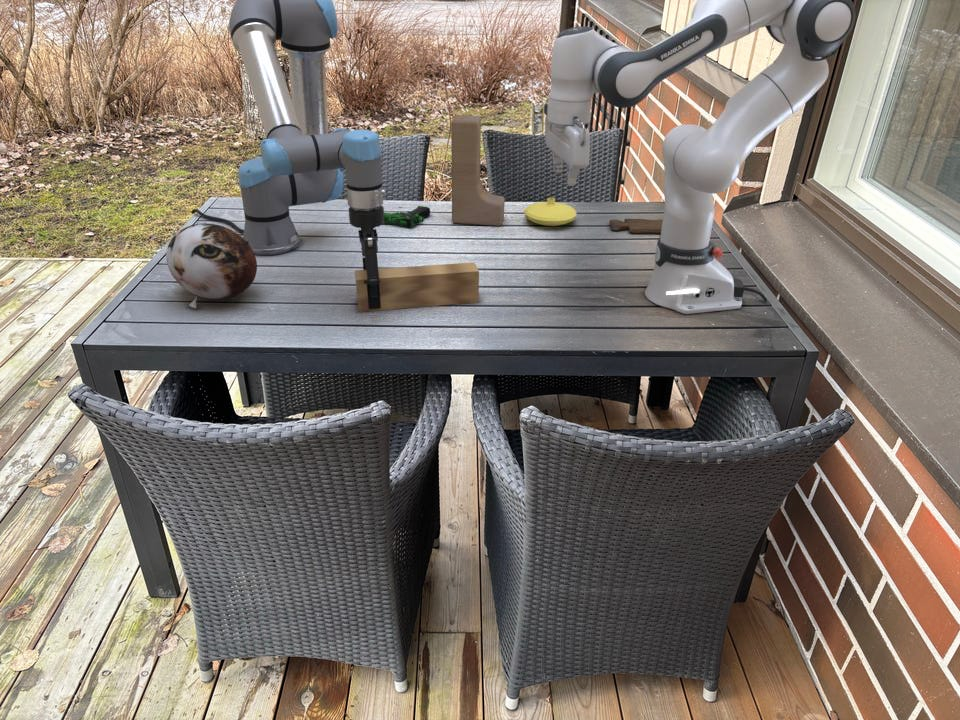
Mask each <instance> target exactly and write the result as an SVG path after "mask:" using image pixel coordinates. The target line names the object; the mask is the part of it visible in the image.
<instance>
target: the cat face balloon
mask: <svg viewBox="0 0 960 720" xmlns="http://www.w3.org/2000/svg"><path fill="white" fill-rule="evenodd" d="M248 242H249V241H246V240H245V239H244V238H243V236H242V235H240V234H239V233H238V232H236V231H234V230H233V229H231V228H229V227H226V226H223V225H220V224H215V223H205V222H204V223H195V224H191V225H188V226H186V227H183V228H182V229H180V230H179V231H177V232H176V233H175V234H174V235H173V237H171V239H170V241H169V243H168V245H167V248H166V254H165V260H166V265H167V268H168V271H169V273H170V275H171V276H172V277H173V279H174V280H175V281H176V282H177V284H178V285H180V286H181V287H182V288H183V289H185V290H186V291H187V292H189V293H191V294H194V295H195V298H194V299H193V300H192V302H190V303H189V304H188V306H189V307H191V308H192V309H197V308H198V307H197V298H198V297H201V298H205V299H210V300H226V299H230V298H233V297H236V296H238V295H241V294H242V293H244V292H245V291H247V290H248V289H249V288H250V286H251V285H252V284H253V282H254V280H255V278H256V275H257V271H258V262H257V257H256V254H254V252H253V250H252V248H251V247H250V245H249V244H248Z"/></svg>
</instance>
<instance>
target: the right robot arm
mask: <svg viewBox="0 0 960 720" xmlns="http://www.w3.org/2000/svg"><path fill="white" fill-rule="evenodd" d="M693 5H694V6H693V8H692V11H691V16H690V20H689V22H688V23H687V24H686V25H685V26H684V27H683V28H681V29H680V30H679V31H677V32H675V33H674V34H672V35H670V36H668V37H667V38H664V39H663V40H661V41H659V42H658V43H656V44H654V45H653V46H650V47H648V48H646V49H643V50H631V49H629V48H628V47H625V46H623V45H620V44H619V43H616V42H613V41H611V40H609V39H607V38H606V37H605V36H603V35H601V34H600V33H598V32H597V31H596V30H595V29H594V28H593V27H591V26H575V27H570V28H566V29H564V30H562V31H560V32H559V33H558V34H557V35H556V37H555V39H554V42H553V46H552V52H551V59H550V60H551V61H550V73H549V76H550V81H551V87H550V91H549V94H548V102H544V103H543V109H542V111H543V114H544V116H545V118H544V141H545V146H546V147H547V148H548V149H549V150H551V156H552V162H553V167H552V170H553V171H554V173H556V174H561V173H563V171H564V164H563V163H565V164H566V165H567V166H568V167H567V169H568V173H567V175H566V180H565V182H566V184H567V185H568V186H569V187H570V186H571V187H572V186H576V185H577V179H578V176H579V174H580V172H581V171H580V170H581V169H587V168H588V167H589V164H590V153H591V135H590V131H589V130H588V129H587V128H586V127H585V125H587V124H589V123H590V121H591V112H592V111H591V110H592V101H593V100H592V99H593V95H595V94H601V95H602V97H603V99H604V100H605V102H607V103H608V105H609V104H610V105H611V106H613V107H616V108H620V109H626V108H627V109H628V108H632V107H634V106H637V105H638V104H640V103H641V102H642V101H643V100H644V99H646V98H647V97H648V96H649V94H650V93H651V92H652V91H653V90H654V89H655V88H656V87H657V85H659V84H660V83H661V82H663V81H664V80H665V79H667V78H669V77H670V76H673V75H674V74H676V73H677V72H679V71H681V70H682V69H685V68H686V67H688V66H690V65H691V64H693V63H694V62H696V61H698V60H700V59H701V58H703V57H705V56H706V55H708V54H710V53H712V52H714V51H717V50H718V49H720V48H723V47H726V46H727V45H729V44H732V43H734V42H736V41H739V40H740V39H742V38H744V37H747V36H749V35H750V34H752V33H754V32H756V31H758V30H759V29H761V28H764V27H765V29H766V31H767V33H768V34H769V36H770V37H771V38H773V40H774V41H776V42H777V43H779V44H782V45H783V46H782V48H781V51H780V52H779V54H778V55H777V56H776V58H775V59H774V60H773V62H772V63H771V64H769V65H768V66H767V67H766V68H764V69H763V70H761V72H759V73H758V74H756V75H755V77H753V78H752V79H751V80H750V81H749V82H747V83H746V84H745V85H744V86H743V87H741V88H740V89H739V90H738V91H736V92H735V93H734V94H733V95H732V96H731V97H730V98H728V99H727V101H726V103H725V107H724V109H723V110H722V112H721V113H720V115H719V116H718V117H717V119H716V120H715V122H714V123H713V124H712V125H711V126H710V127H709V128H708V129H706V128H704V127H703V126H701V125H698V124H687V123H685V124H679V125H677V126H674V127H673V128H672V129H671V130H669V131H668V132H667V134H666V135H665V137H664V139H663V142H662V148H661V149H662V155H663V172H664V173H663V180H664V181H663V183H664V184H663V185H664V188H663V189H664V205H663V206H664V207H663V208H664V209H663V216H662V219H663V222H662V228H661V233H660V236H659V237H658V239H657V242H656V247H655V252H654V267H653V271H652V274H651V277H650V279H649V282H648V285H647V286H646V288H645V290H644V295H645V298H647V300H649V301H650V302H651V303H654V304H655V305H658V306H659V307H663V308H667V309H671V310H674V311H675V312H678V313H679V314H683V315H693V314H701V313H702V314H703V313H710V312H719V311H720V312H722V311H730V310H737V309H741V308H742V305H743V299H742V298H744V294H745V293H744V292H745V291H746V292H752V293H755V294H756V295H759V297H760V298H762V300H763V301H764V302H767V301H768V298H767V297H766V296H765V294H764V293H762V292H761V291H760V290H758V289H755V288H751V287H747V286H745V285H744V283H743V281H742V279H738V278H734V277H733V275H732V274H731V272H730V270H729V269H727V268H726V267H725V266H724V265H723V264H722V263H721V262H720V261H718V260H717V259H721V258H722V257H723V255H724V252H723V250H722V249H721V248H720V247H717V246H716V245H715V244H714V243H713V242H711V241H710V240H711V236H712V229H713V224H714V219H715V214H716V213H715V212H716V211H715V210H716V209H715V203H714V199H713V195H714V194H719V193H722V192H724V191H726V190H728V189H729V188H730V187H732V185H733V184H734V183H735V181H736V180H737V178H738V176H739V173H740V172H739V171H740V169H741V166H742V165H743V163H744V162H745V161H746V159H747V158H748V156H749V155H750V154H751V153H752V151H753V150H754V149H755V148H756V147H757V146H758V144H759V143H760V142H761V141H763V140H764V138H765V137H767V136H768V135H769V134H770V133H771V132H773V131H774V130H775V129H777V128H778V127H779V126H780V125H781V124H782V123H784V122H785V121H786V120H787V119H789V118H790V117H791V116H792V115H793V114H795V113H796V112H797V111H798V110H800V109H801V108H802V107H804V105H805V104H806V103H807V102H808V101H809V100H811V98H812V97H813V96H814V95H815V94H816V93H817V92H818V91H819V90H820V89H821V88H822V86H823V85H824V84H825V82H826V81H827V79H828V77H829V73H830V67H829V63H828V61H827V59H829V58H830V59H831V57H833V56H834V55H835V54H836V53H837V52H838V50H839V48H840V46H841V45H842V44H843V43H844V41H845V40H846V39H847V37H849V35H850V33H851V32H852V29H853V27H854V25H855V21H856V15H857V13H856V7H855V4H854V2H853V1H852V0H696V2H695V3H694V4H693ZM829 54H830V55H829Z"/></svg>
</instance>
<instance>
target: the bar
mask: <svg viewBox="0 0 960 720" xmlns="http://www.w3.org/2000/svg"><path fill="white" fill-rule="evenodd" d="M378 272H379V280H380V283H379V286H380V301H381V309H370V310H369V308H368V295H367V284H364V280H367V273H366V270H363V269H356V270H354V279H355V289H356V300H357V301H356V302H357V303H356V304H357V309H358V313H360V312H361V313H363V312H374V311H375V312H376V311H386V310H387V311H388V310H401V309H411V308H412V309H413V308H424V307H425V308H426V307H438V306H450V305H463V304H464V305H465V304H475V303H480V302H479V300H480V299H479V298H480V296H479V294H480V270H479V268H478V266H477V265H476V263H475V262H473V261H472V262H460V263H458V262H457V263H445V264H444V263H443V264H430V265H429V264H428V265H416V266H415V265H414V266H401V267H387V268H378ZM373 278H376V277H373Z"/></svg>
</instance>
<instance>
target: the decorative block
mask: <svg viewBox="0 0 960 720" xmlns="http://www.w3.org/2000/svg"><path fill="white" fill-rule="evenodd" d="M450 124H451V126H450V129H451V131H450V133H451V135H450V136H451V142H450V143H451V149H450V150H451V222H452V223H453V224H464V225H480V226H481V225H482V226H494V227H495V226H496V227H500V226H502V224H503V221H504V219H505V202H506V201H505V199H506V198H505V197H504V196H501V195H497V194H493V193H490V192H488V191H487V190H485V188H484V186H483V183H482V180H481V151H482V150H481V147H482V145H481V144H482V142H481V141H482V140H481V139H482V118H481V116H480V115H465V114H456V115H455V116H454V117H453V118H452V120H451V122H450Z"/></svg>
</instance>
